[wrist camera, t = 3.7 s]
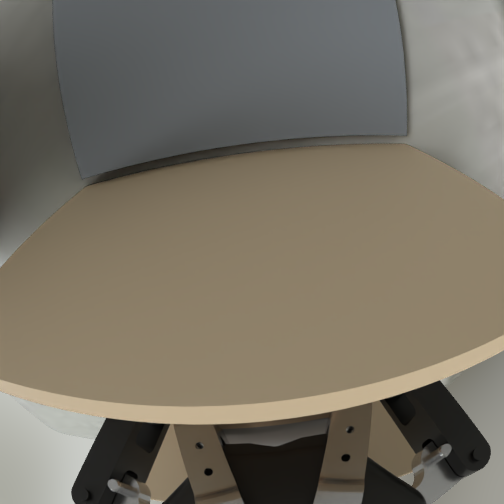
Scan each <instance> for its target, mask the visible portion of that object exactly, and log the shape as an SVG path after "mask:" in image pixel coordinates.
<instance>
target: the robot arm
mask: <svg viewBox="0 0 504 504" xmlns="http://www.w3.org/2000/svg"><path fill="white" fill-rule="evenodd" d="M379 401H380V402H381V403H382V405H383V406H384V408H385V409H386V411H387V412H388V414H389V415H390V417H391V418H392V420H393V421H394V422H395V424H396V425H397V427H398V428H399V430H400V431H401V433H402V434H403V436H404V437H405V439H406V440H407V442H408V443H409V445H410V446H411V448H412V449H413V451H414V452H415V454H416V455H415V456H414V458H413V460H412V464H411V467H412V471H413V473H414V483H413V485H412V486H410V485H409V484H407V483H406V482H404V481H403V480H401V479H400V478H398V477H397V476H395V475H394V474H392V473H391V472H389V471H388V470H386V469H385V468H383V467H382V466H381V465H379V464H378V463H376V462H375V461H373V460H372V459H371V458H369V457H368V448H369V439H370V429H371V418H372V402H371V403H367V404H363V405H359V406H355V407H350V408H346V409H341V410H337V411H332V412H330V415H329V417H328V420H327V425H326V429H325V433H324V434H319V435H313V436H307V437H301V438H299V439H296V440H293V441H291V442H288V443H285V444H282V445H279V446H266V445H259V444H252V443H241V444H230V443H229V441H228V439H227V437H226V435H225V433H224V431H223V430H222V428H220V427H219V425H218V424H174V430H175V434H176V437H177V441H178V445H179V448H180V452H181V455H182V459H183V462H184V465H185V468H186V472H187V475H188V477H187V478H186V479H185V480H184V481H183V482H182V484H181V485H180V486H179V487H178V488H177V489H176V490H175V491H174V492H173V493H172V494H171V495H170V496H169V497H168V498H167V499H166V500H165V501H164V502H163V503H162V504H432V503H433V502H434V501H436V500H437V499H438V498H440V497H441V496H442V495H443V494H445V493H446V492H447V491H448V490H449V489H451V488H452V487H453V486H454V485H455V484H456V483H458V482H459V481H460V480H461V479H463V478H465V477H467V476H469V475H471V474H473V473H475V472H476V471H478V470H480V469H482V468H483V467H484V466H485V465H486V464H487V463H488V461H489V459H490V455H491V450H490V446H489V444H488V443H487V441H486V440H485V438H484V437H483V435H482V434H481V433H480V431H479V430H478V429H477V427H476V426H475V425H474V423H473V422H472V421H471V419H470V418H469V417H468V415H467V414H466V413H465V411H464V410H463V409H462V408H461V406H460V405H459V404H458V403H457V401H456V400H455V399H454V397H453V396H452V395H451V394H450V392H449V391H448V390H447V389H446V387H445V386H444V385H443V384H442V382H441V381H440V380H439V381H436V382H434V383H431V384H428V385H425V386H423V387H420V388H417V389H414V390H411V391H408V392H405V393H402V394H399V395H395V396H392V397H389V398H385V399H382V400H379ZM169 426H170V424H164V423H149V422H137V421H128V420H119V419H112V418H106V420H105V422H104V424H103V426H102V428H101V429H100V431H99V433H98V435H97V437H96V439H95V441H94V443H93V445H92V447H91V449H90V451H89V453H88V456H87V458H86V460H85V462H84V464H83V466H82V468H81V470H80V472H79V474H78V476H77V478H76V481H75V483H74V485H73V487H72V491H71V493H72V499H73V501H74V502H75V504H150V499H151V492H150V489H149V487H148V486H147V485H146V484H145V483H146V481H147V479H148V476H149V474H150V471H151V469H152V467H153V464H154V462H155V459H156V457H157V455H158V452H159V450H160V447H161V445H162V443H163V440H164V438H165V435H166V433H167V431H168V428H169Z"/></svg>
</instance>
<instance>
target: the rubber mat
mask: <svg viewBox="0 0 504 504" xmlns="http://www.w3.org/2000/svg"><path fill="white" fill-rule="evenodd" d="M53 30H54V44H55V54H56V63H57V71H58V78H59V85H60V91H61V96H62V102H63V107H64V112H65V117H66V121H67V126H68V130H69V134H70V139H71V143H72V146H73V150H74V154H75V158H76V161H77V165H78V168H79V172H80V175H81V178H82V179H85V178H88V177H91V176H95V175H98V174H102V173H105V172H109V171H112V170H116V169H120V168H124V167H127V166H131V165H135V164H140V163H144V162H148V161H152V160H157V159H161V158H166V157H171V156H176V155H181V154H186V153H191V152H196V151H202V150H208V149H214V148H220V147H227V146H233V145H241V144H248V143H256V142H265V141H274V140H284V139H295V138H309V137H325V136H351V135H398V136H407V94H406V76H405V63H404V53H403V45H402V37H401V30H400V23H399V17H398V12H397V6H396V1H395V0H53Z"/></svg>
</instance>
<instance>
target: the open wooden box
mask: <svg viewBox="0 0 504 504" xmlns="http://www.w3.org/2000/svg"><path fill="white" fill-rule="evenodd" d="M503 350H504V199H502V198H501V197H499V196H498V195H496V194H495V193H493V192H492V191H490V190H489V189H487V188H486V187H484V186H483V185H481V184H479V183H478V182H476V181H475V180H473V179H471V178H470V177H468V176H466V175H465V174H463V173H461V172H459V171H458V170H456V169H454V168H452V167H450V166H449V165H447V164H445V163H443V162H441V161H439V160H437V159H435V158H434V157H432V156H430V155H428V154H426V153H424V152H422V151H420V150H417V149H415V148H413V147H411V146H409V145H407V144H344V145H324V146H309V147H297V148H286V149H276V150H267V151H258V152H250V153H243V154H235V155H228V156H222V157H215V158H209V159H203V160H198V161H192V162H187V163H181V164H176V165H171V166H166V167H161V168H157V169H152V170H148V171H143V172H139V173H135V174H131V175H126V176H122V177H119V178H115V179H111V180H107V181H103V182H100V183H96V184H93V185H89V186H86V187H85V188H83V189H82V190H81V191H80V192H78V193H77V194H76V195H75V196H74V197H72V198H71V199H70V200H69V201H68V202H67V203H65V204H64V205H63V206H62V207H61V208H60V209H58V210H57V211H56V212H55V213H54V214H53V215H52V216H51V217H50V218H49V219H47V220H46V221H45V222H44V223H43V224H42V225H41V226H40V227H39V228H38V229H37V230H36V231H35V232H34V233H33V234H32V235H31V236H30V237H29V238H28V239H27V240H26V241H25V242H24V243H23V244H22V245H21V246H20V247H19V248H18V249H17V250H16V251H15V252H14V253H13V254H12V255H11V257H10V258H9V259H8V260H7V261H6V262H5V263H4V264H3V265H2V267H1V268H0V391H1V392H4V393H7V394H10V395H12V396H15V397H19V398H22V399H25V400H28V401H32V402H35V403H39V404H42V405H46V406H50V407H54V408H58V409H62V410H67V411H72V412H76V413H81V414H87V415H92V416H98V417H105V418H112V419H119V420H128V421H137V422H149V423H164V424H170V426H169V428H168V431H167V433H166V435H165V438H164V440H163V443H162V445H161V447H160V450H159V452H158V455H157V457H156V459H155V462H154V464H153V467H152V469H151V471H150V474H149V476H148V479H147V481H146V483H145V484H146V485H147V486H148V487H149V489H150V492H151V500H157V501H165V500H166V499H167V498H168V497H169V496H170V495H171V494H172V493H173V492H174V491H175V490H176V489H177V488H178V487H179V486H180V485H181V484H182V482H183V481H184V480H185V479H186V478H187V477H188V475H187V472H186V468H185V465H184V462H183V459H182V455H181V452H180V448H179V445H178V441H177V437H176V434H175V430H174V424H236V423H251V422H263V421H273V420H282V419H289V418H297V417H303V416H310V415H316V414H321V413H327V412H332V411H337V410H341V409H346V408H350V407H355V406H359V405H363V404H367V403H371V402H372V418H371V429H370V439H369V448H368V457H369V458H371V459H372V460H373V461H375V462H376V463H378V464H379V465H381V466H382V467H383V468H385V469H386V470H388V471H389V472H391V473H392V474H394V475H395V476H397V477H401V476H404V475H406V474H409V473H411V472H413V471H412V467H411V464H412V460H413V458H414V456H415V455H416V454H415V452H414V451H413V449H412V448H411V446H410V445H409V443H408V442H407V440H406V439H405V437H404V436H403V434H402V433H401V431H400V430H399V428H398V427H397V425H396V424H395V422H394V421H393V420H392V418H391V417H390V415H389V414H388V412H387V411H386V409H385V408H384V406H383V405H382V403H381V402H380V401H379V400H382V399H385V398H389V397H392V396H395V395H399V394H402V393H405V392H408V391H411V390H414V389H417V388H420V387H423V386H425V385H428V384H431V383H434V382H436V381H439V380H441V379H444V378H446V377H449V376H451V375H454V374H456V373H458V372H461V371H463V370H465V369H467V368H469V367H472V366H474V365H476V364H478V363H480V362H482V361H484V360H486V359H488V358H490V357H492V356H494V355H496V354H498V353H500V352H501V351H503Z"/></svg>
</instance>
